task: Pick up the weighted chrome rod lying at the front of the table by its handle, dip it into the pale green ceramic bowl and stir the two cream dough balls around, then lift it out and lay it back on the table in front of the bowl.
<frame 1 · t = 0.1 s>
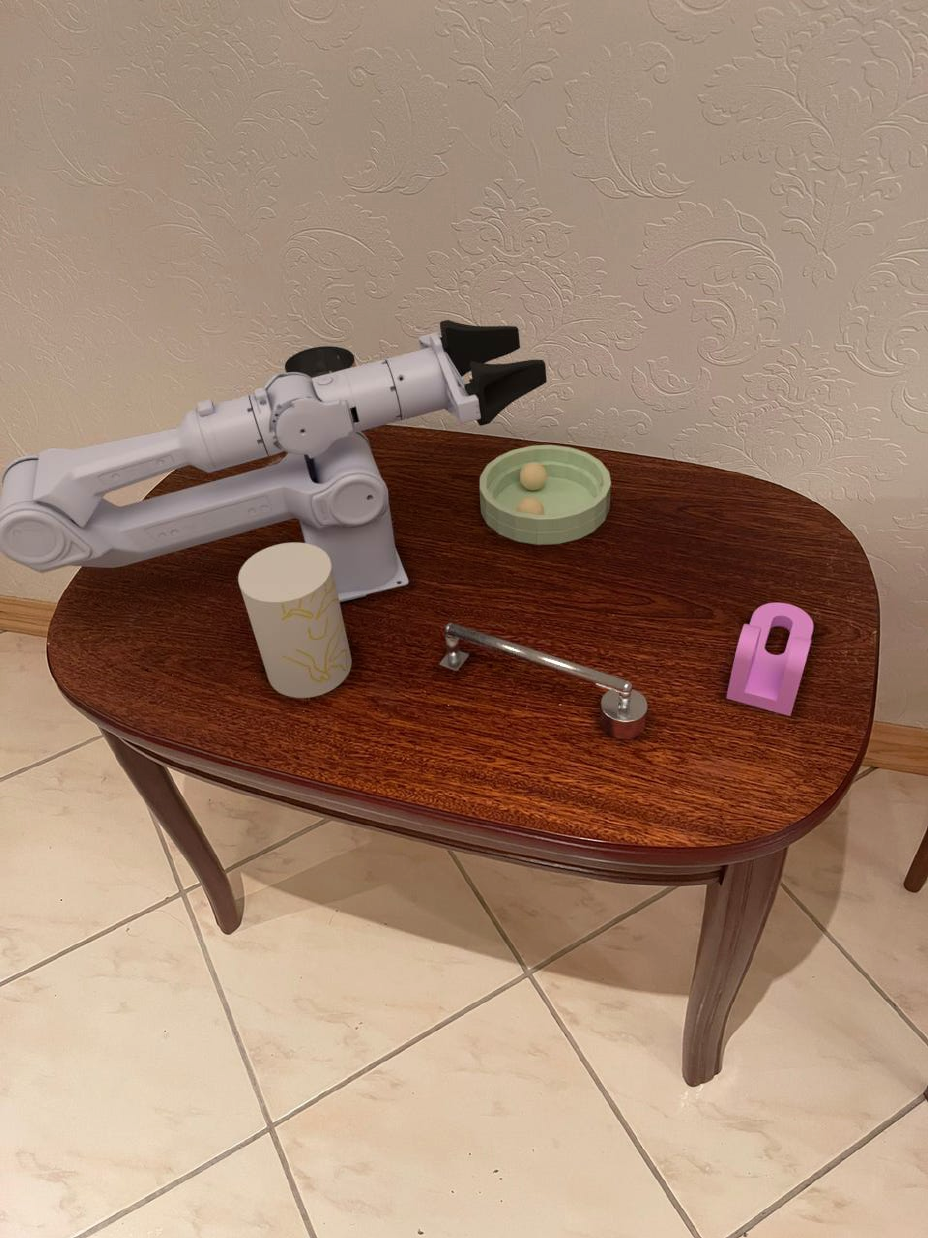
hand: (531, 353, 84), 22 cm above the table, tool horizontal, fingers open, 7 cm apart
dough ball 1: (533, 487, 104), resting on bowl
weighted chrome rod: (530, 689, 82), on the table
bracket: (771, 660, 83), on the table
cream cylinder: (310, 668, 86), on the table
dough ball 2: (530, 523, 99), resting on bowl
bowl: (544, 508, 102), on the table
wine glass: (340, 475, 110), on the table
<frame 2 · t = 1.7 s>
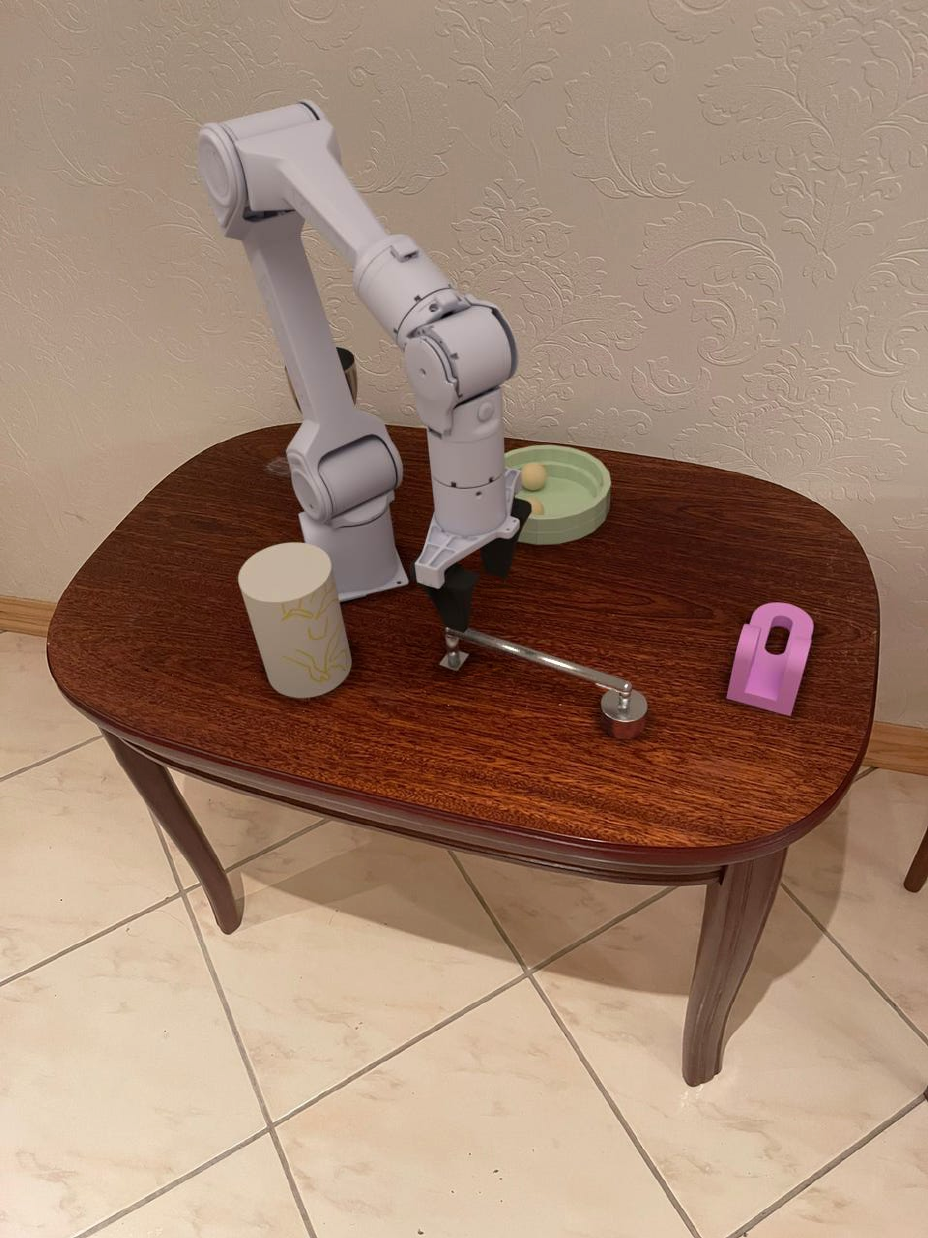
hand: (477, 599, 77), 9 cm above the table, tool pointing down, fingers open, 7 cm apart
nothing on the table moved.
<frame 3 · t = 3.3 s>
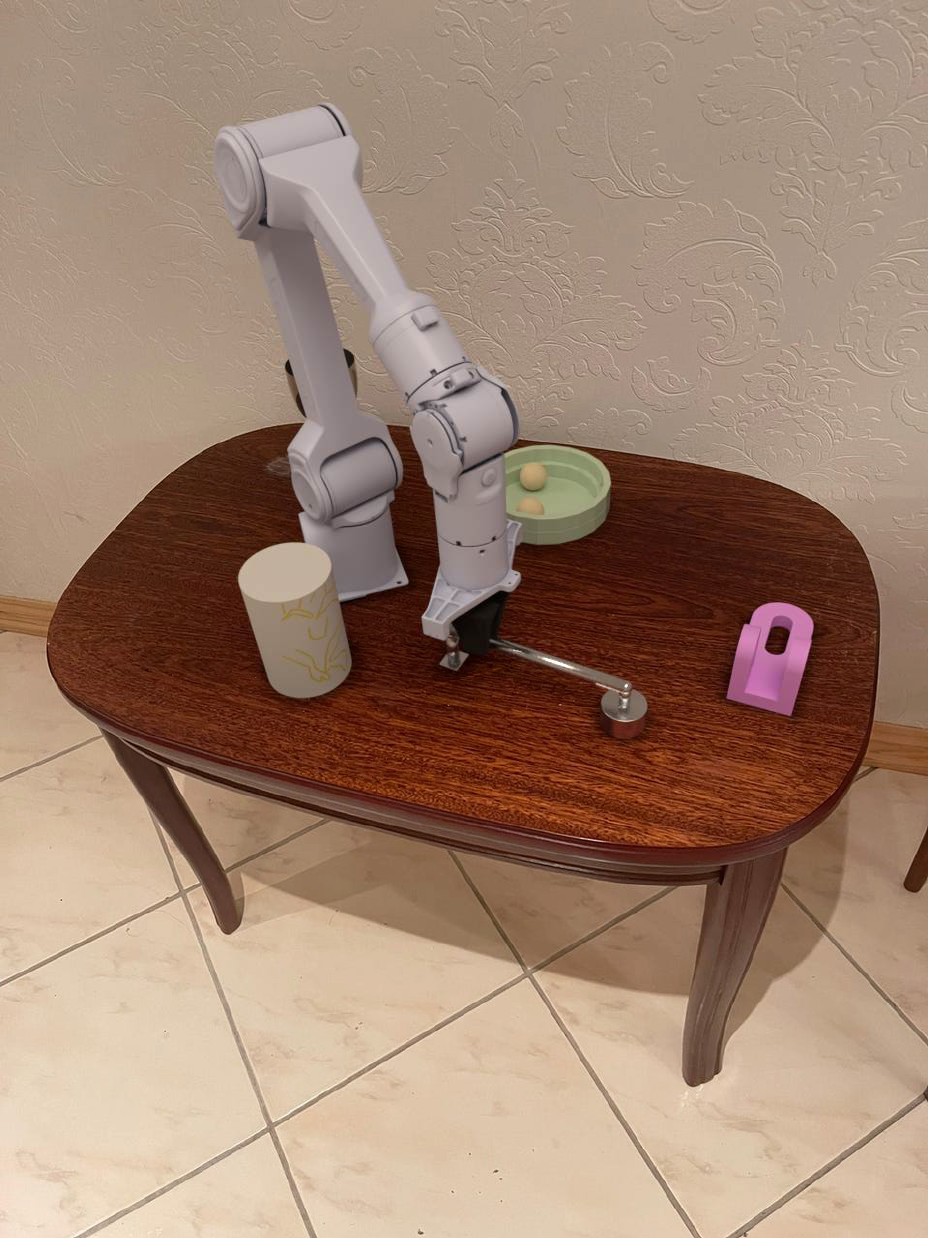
hand: (480, 645, 81), 4 cm above the table, tool pointing down, fingers closed on weighted chrome rod
weighted chrome rod: (530, 689, 82), on the table, touching gripper
everything else where it was.
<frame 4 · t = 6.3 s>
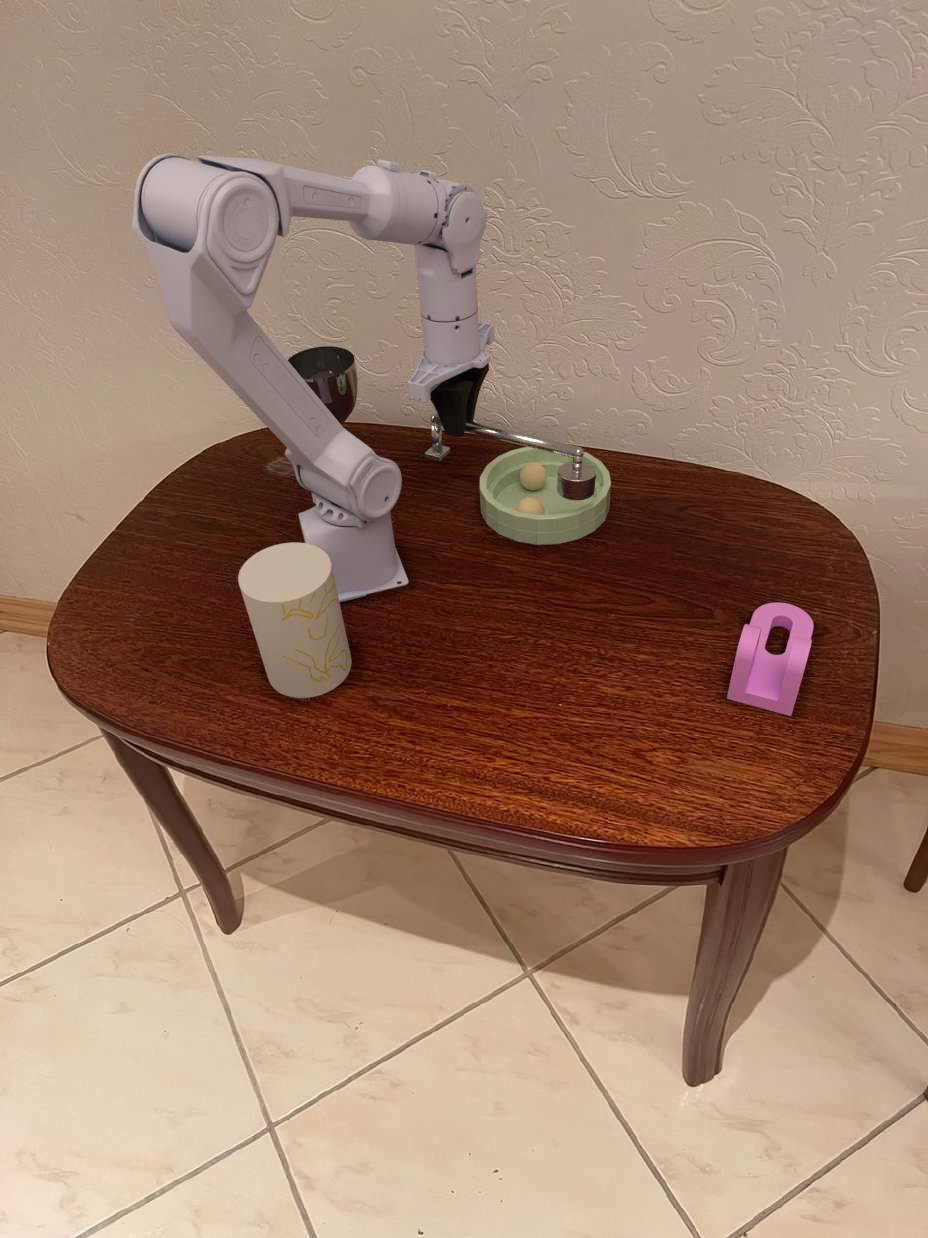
hand: (458, 430, 97), 10 cm above the table, tool pointing down, fingers closed on weighted chrome rod
weighted chrome rod: (500, 471, 97), point 6 cm above the table, touching gripper
everything else where it was.
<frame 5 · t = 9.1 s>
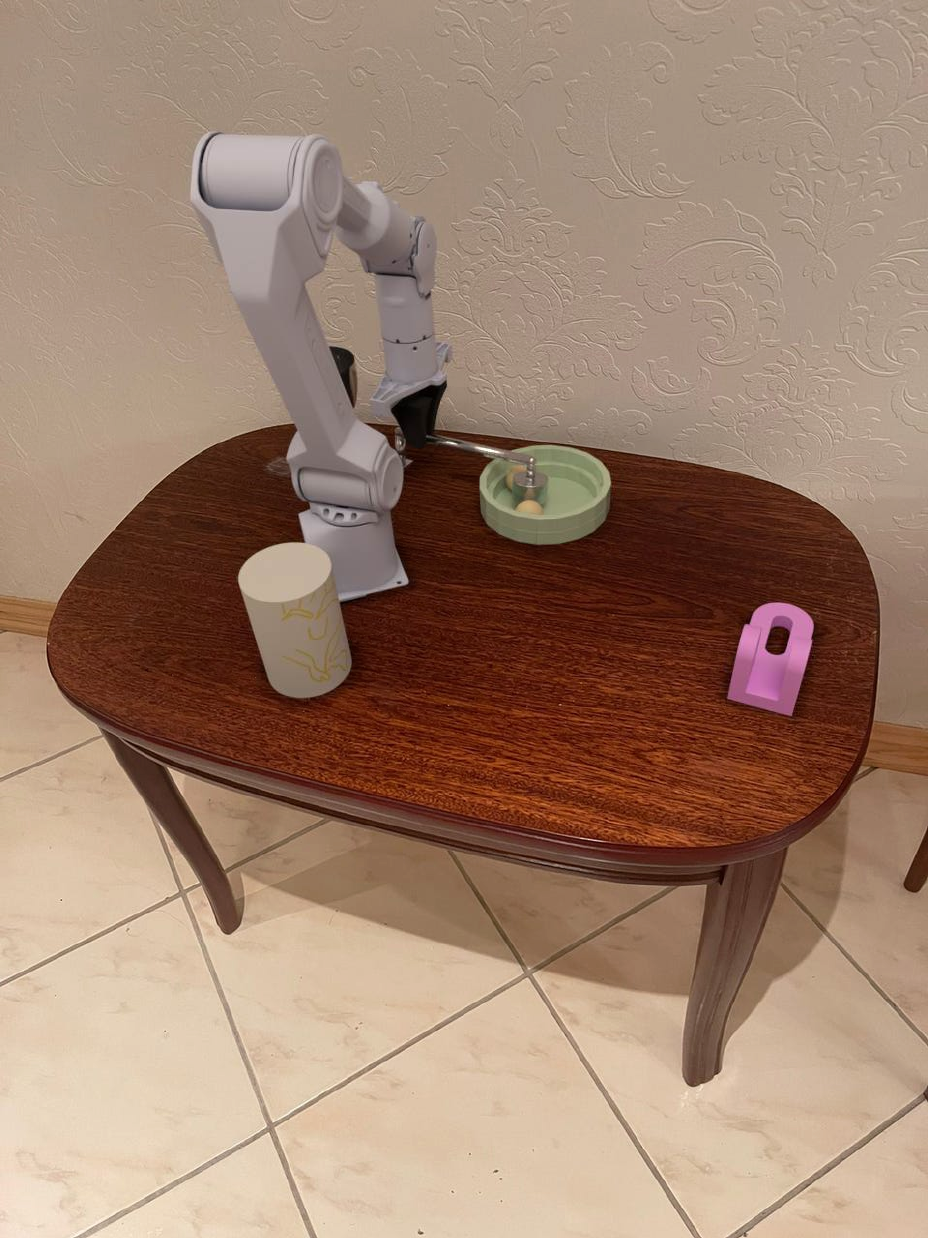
hand: (420, 442, 104), 5 cm above the table, tool pointing down, fingers closed on weighted chrome rod
dough ball 1: (519, 492, 104), point 1 cm above the table, tilted 18°, touching bowl
weighted chrome rod: (459, 480, 104), point 2 cm above the table, tilted 8°, touching dough ball 2, gripper
dough ball 2: (531, 523, 99), point 1 cm above the table, tilted 16°, touching bowl, weighted chrome rod
everything else where it was.
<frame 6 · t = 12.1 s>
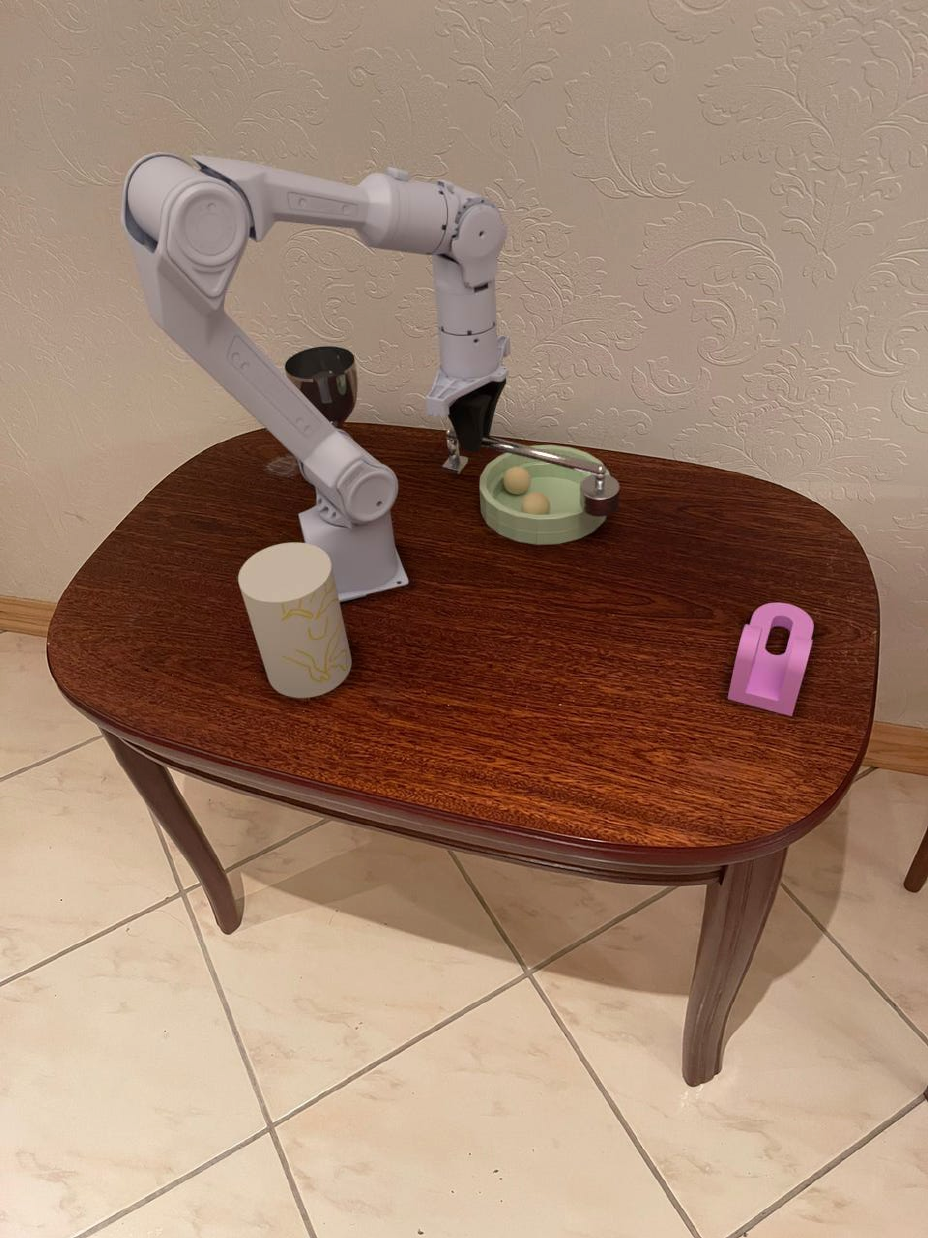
hand: (474, 444, 95), 10 cm above the table, tool pointing down, fingers closed on weighted chrome rod
dough ball 1: (519, 492, 104), point 1 cm above the table, tilted 12°, touching bowl
weighted chrome rod: (520, 483, 96), point 6 cm above the table, tilted 6°, touching gripper
dough ball 2: (533, 520, 99), point 1 cm above the table, tilted 48°, touching bowl
everything else where it was.
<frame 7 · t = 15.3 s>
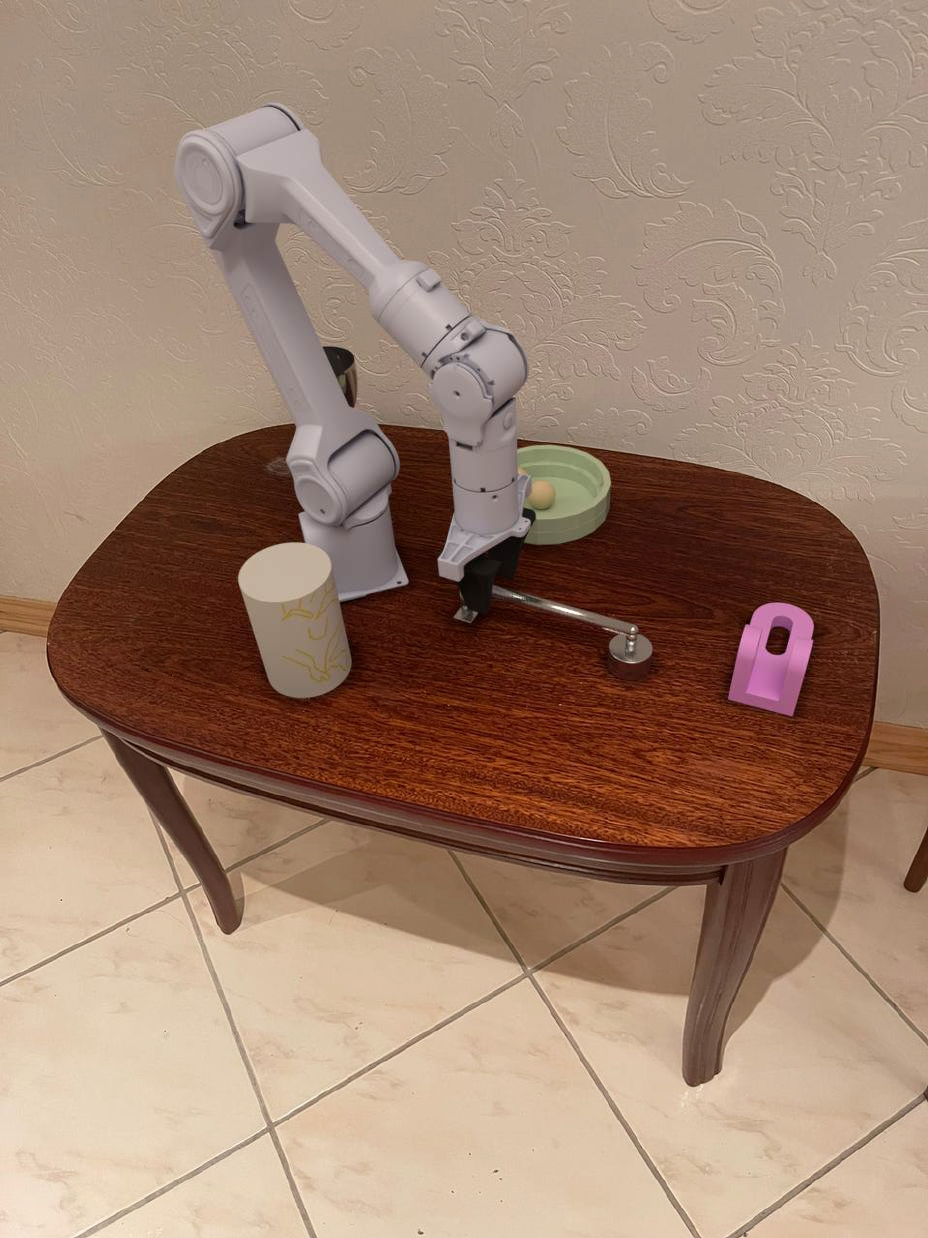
hand: (491, 592, 85), 4 cm above the table, tool pointing down, fingers open, 5 cm apart
weighted chrome rod: (540, 638, 86), on the table
dough ball 2: (539, 492, 99), point 3 cm above the table, tilted 132°, touching bowl
everything else where it was.
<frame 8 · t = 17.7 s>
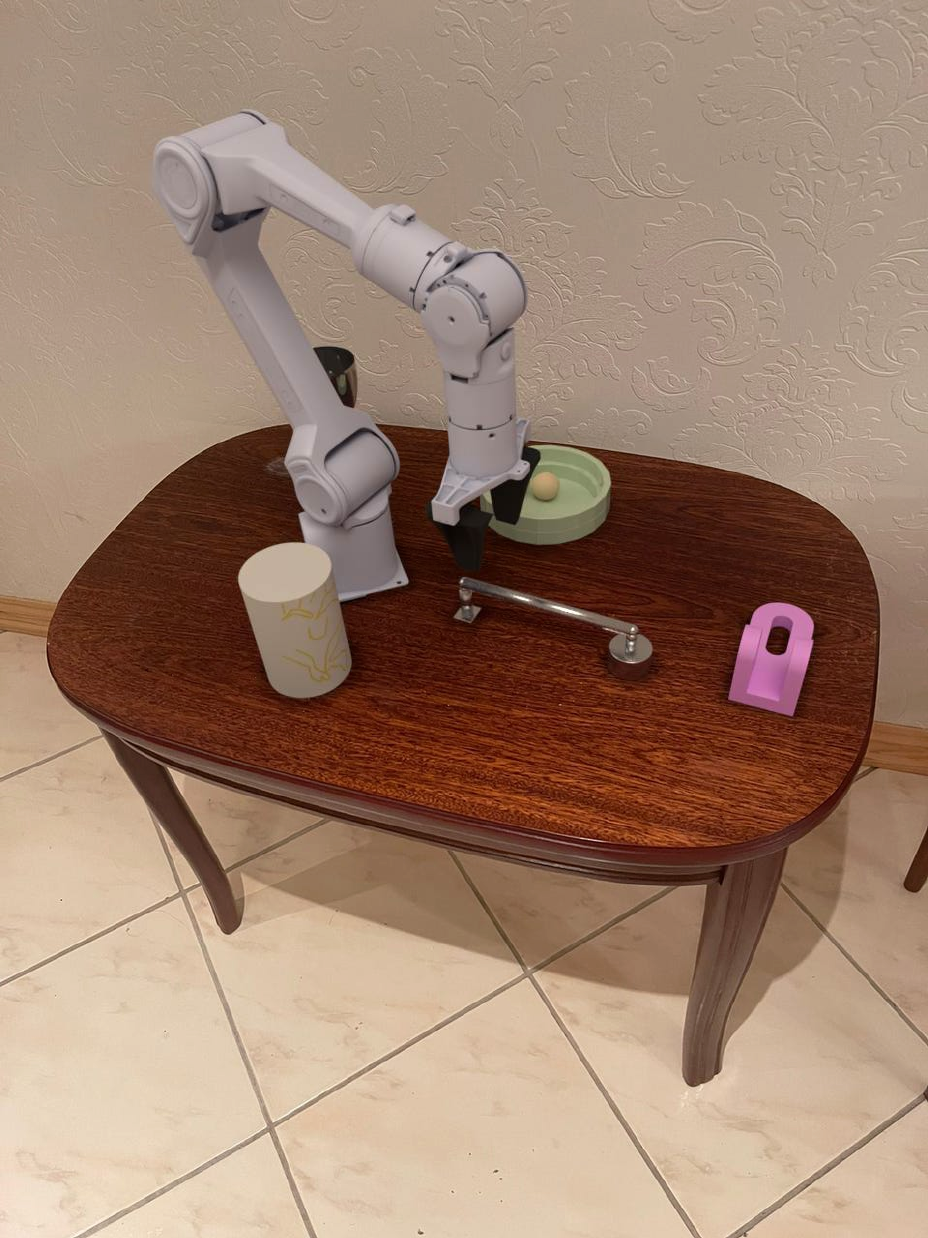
hand: (488, 543, 81), 10 cm above the table, tool pointing down, fingers open, 7 cm apart
dough ball 2: (547, 472, 101), point 4 cm above the table, tilted 164°, touching bowl
everything else where it was.
at the end: dough ball 1 moved 1.9 cm from its start; dough ball 1 inside the target area in the bowl (3.9 cm from its centre), point 0.5 cm above the bowl's base; weighted chrome rod inside the target area (0.2 cm from its centre), on the table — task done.
